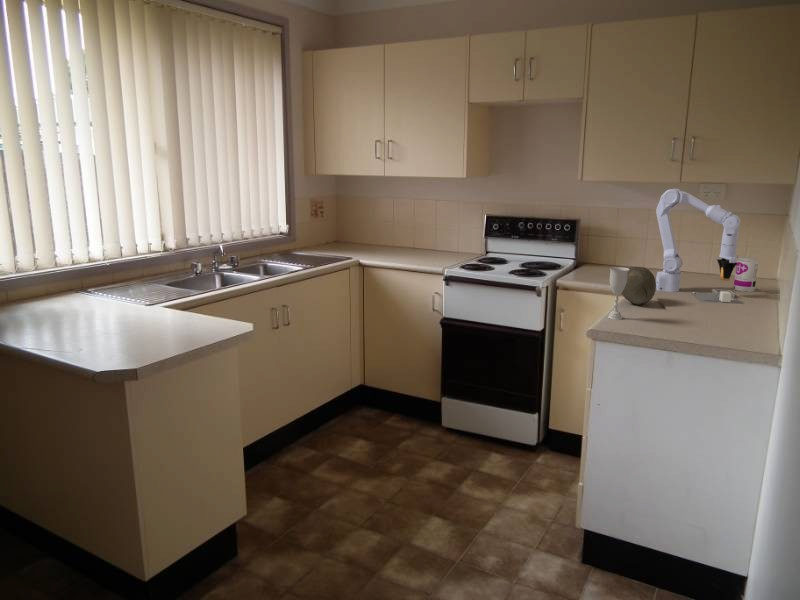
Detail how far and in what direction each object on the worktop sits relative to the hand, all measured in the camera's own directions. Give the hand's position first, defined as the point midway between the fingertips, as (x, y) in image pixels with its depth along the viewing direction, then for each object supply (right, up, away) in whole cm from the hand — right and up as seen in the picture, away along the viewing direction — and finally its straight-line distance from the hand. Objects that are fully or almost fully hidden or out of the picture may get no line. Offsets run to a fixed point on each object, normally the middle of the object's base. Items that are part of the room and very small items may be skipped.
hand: (724, 277), depth 261 cm
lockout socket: (0, -8, +2) cm, 8 cm away
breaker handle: (-4, -10, -8) cm, 14 cm away
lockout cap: (0, -1, 0) cm, 1 cm away
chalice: (-56, -16, -32) cm, 67 cm away
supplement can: (+16, -6, +15) cm, 22 cm away
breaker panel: (-5, -9, -2) cm, 11 cm away
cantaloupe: (-41, -11, -10) cm, 43 cm away
